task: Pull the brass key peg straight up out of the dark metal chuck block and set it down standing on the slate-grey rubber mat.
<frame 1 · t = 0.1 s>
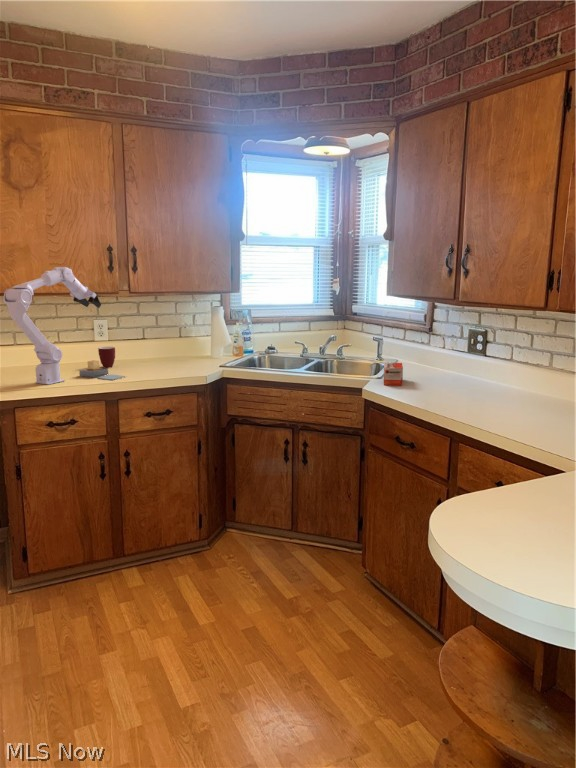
hand: (93, 305, 261), 32 cm above the counter, tool tilted 50°, fingers open, 7 cm apart
brass key: (93, 368, 257), in the chuck block
chuck block: (94, 375, 257), on the counter
mug: (109, 367, 281), on the counter
medicine box: (392, 383, 244), on the counter
slate mat: (111, 377, 253), on the counter
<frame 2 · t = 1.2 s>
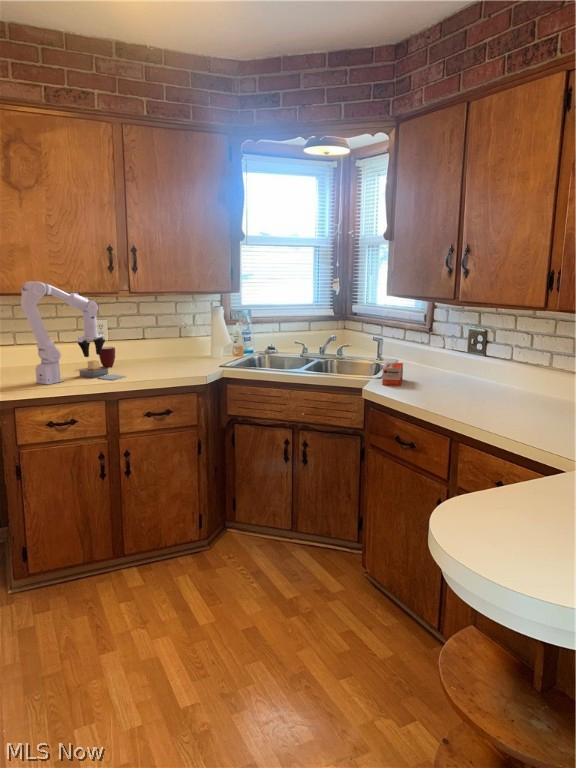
hand: (92, 355, 255), 9 cm above the counter, tool pointing down, fingers open, 7 cm apart
nothing on the counter moved.
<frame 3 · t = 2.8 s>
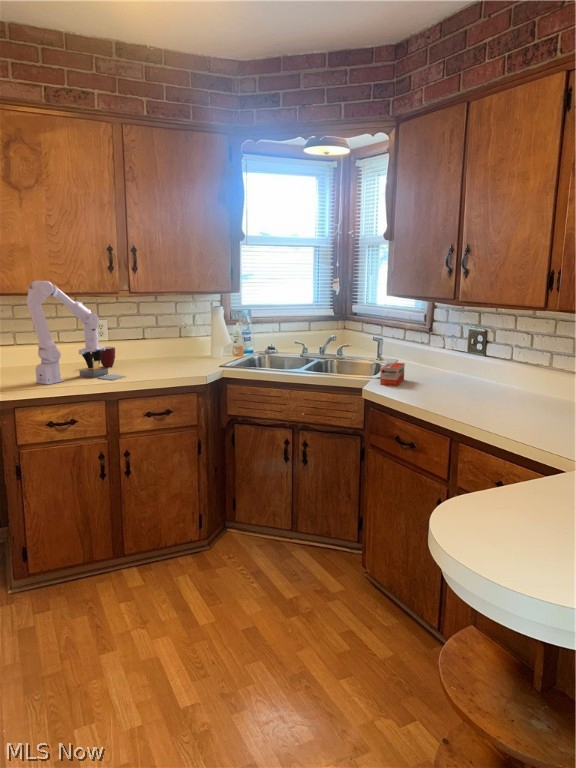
hand: (93, 367, 256), 4 cm above the counter, tool pointing down, fingers closed on brass key, 3 cm apart
brass key: (93, 368, 257), in the chuck block, touching gripper
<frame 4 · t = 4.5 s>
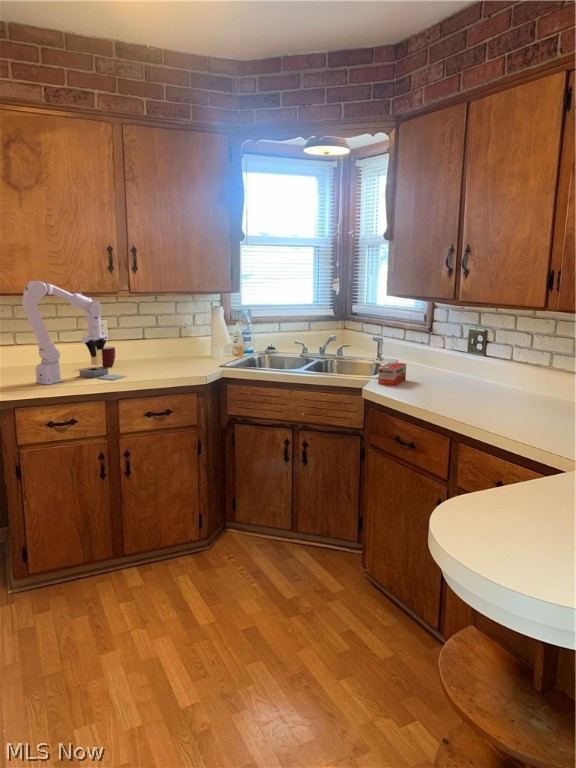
hand: (96, 356, 254), 9 cm above the counter, tool pointing down, fingers closed on brass key, 3 cm apart
brass key: (96, 357, 254), point 9 cm above the counter, touching gripper
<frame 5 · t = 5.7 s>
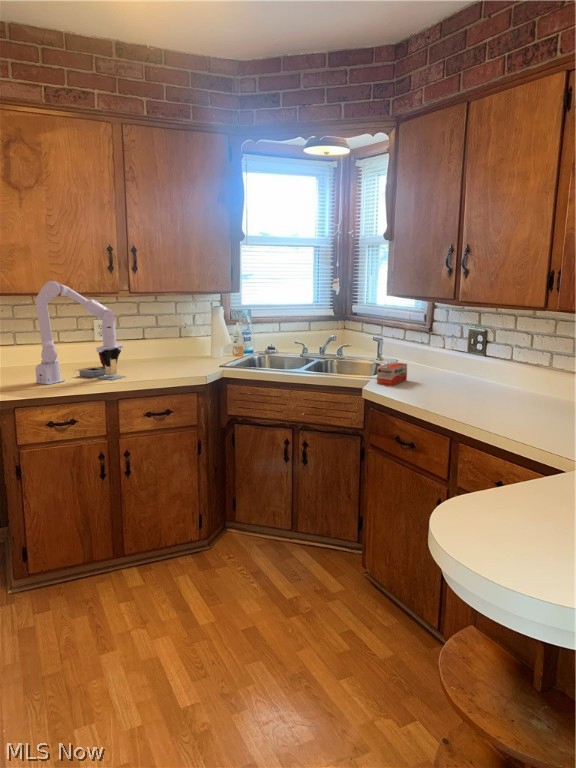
hand: (111, 365, 251), 6 cm above the counter, tool pointing down, fingers closed on brass key, 3 cm apart
brass key: (110, 366, 252), point 5 cm above the counter, touching gripper
when the fingers open (5 cm above the counter, at t = 6.5 s): brass key stays where it is, resting on slate mat.
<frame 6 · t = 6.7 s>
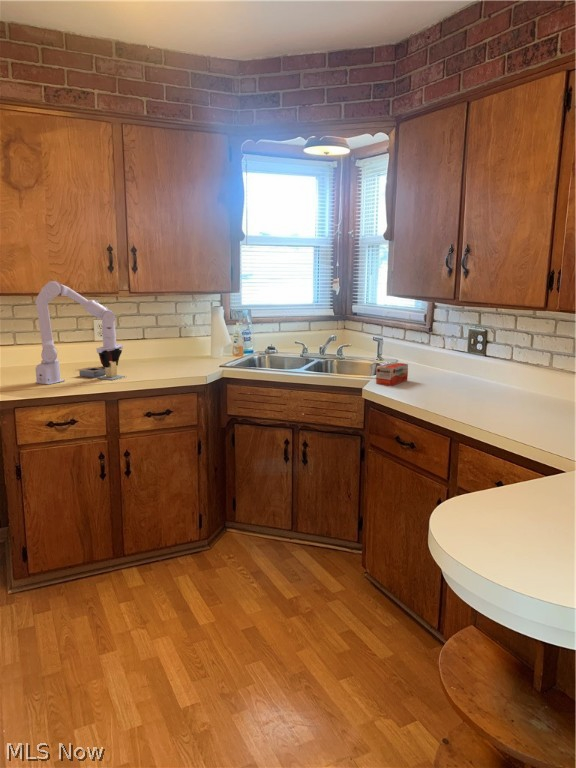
hand: (111, 366, 251), 5 cm above the counter, tool pointing down, fingers open, 5 cm apart
brass key: (110, 369, 252), on the slate mat
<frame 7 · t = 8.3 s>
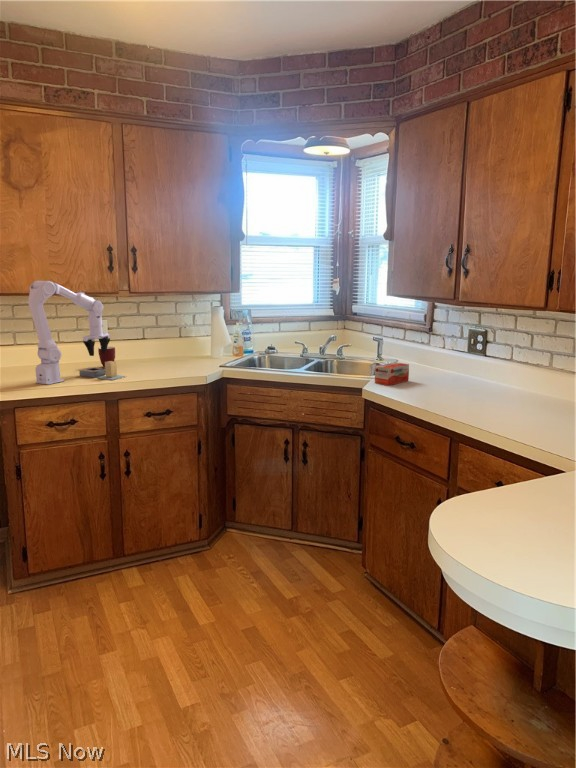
hand: (97, 354, 259), 9 cm above the counter, tool pointing down, fingers open, 7 cm apart
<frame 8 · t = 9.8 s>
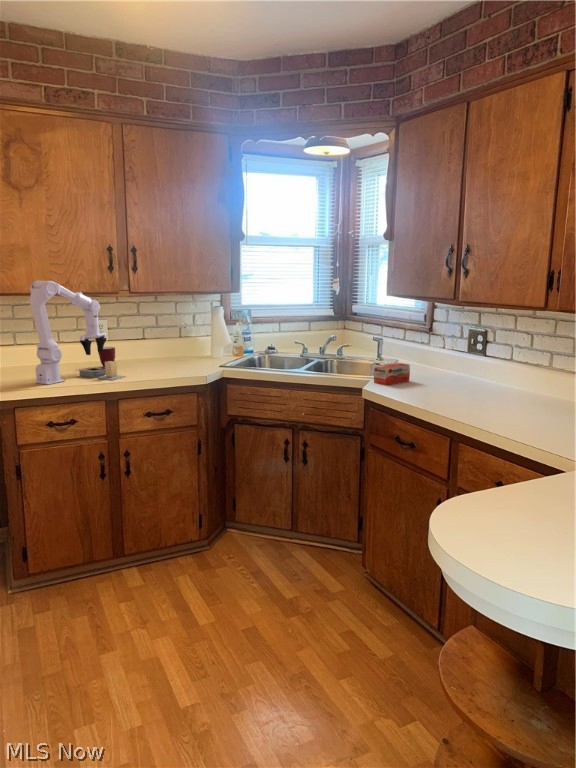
hand: (94, 353, 261), 9 cm above the counter, tool pointing down, fingers open, 7 cm apart
at the end: brass key 0.3 cm off-centre on the slate mat, point 3.9 cm above the slate mat's base; brass key tilted 0°; the gripper is holding nothing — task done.
